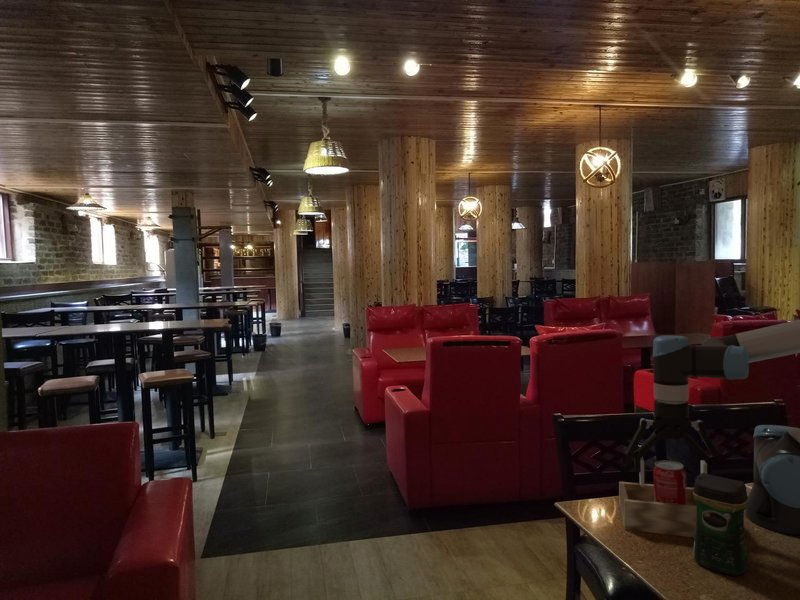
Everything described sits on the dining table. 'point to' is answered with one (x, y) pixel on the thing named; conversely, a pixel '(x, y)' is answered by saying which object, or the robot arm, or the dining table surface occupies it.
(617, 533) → the dining table surface
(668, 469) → the soda can
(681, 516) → the crate
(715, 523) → the coffee jar
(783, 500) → the robot arm
